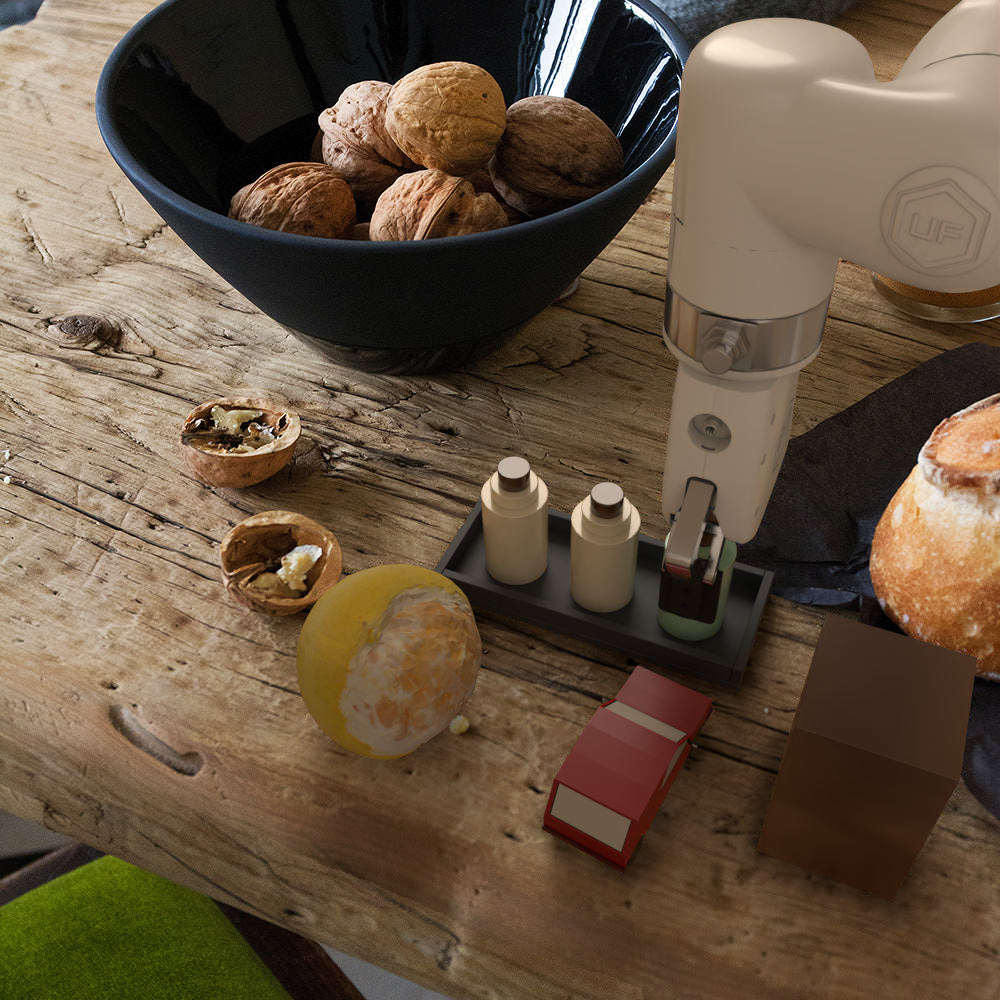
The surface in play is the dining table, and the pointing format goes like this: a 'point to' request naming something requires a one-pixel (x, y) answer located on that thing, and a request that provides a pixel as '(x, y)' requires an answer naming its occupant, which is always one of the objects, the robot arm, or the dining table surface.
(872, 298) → the dining table surface
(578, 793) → the toy truck
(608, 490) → the bottle mid
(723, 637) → the tray
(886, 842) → the stand
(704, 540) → the bottle celadon
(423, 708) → the fruit
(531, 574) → the bottle far
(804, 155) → the robot arm
